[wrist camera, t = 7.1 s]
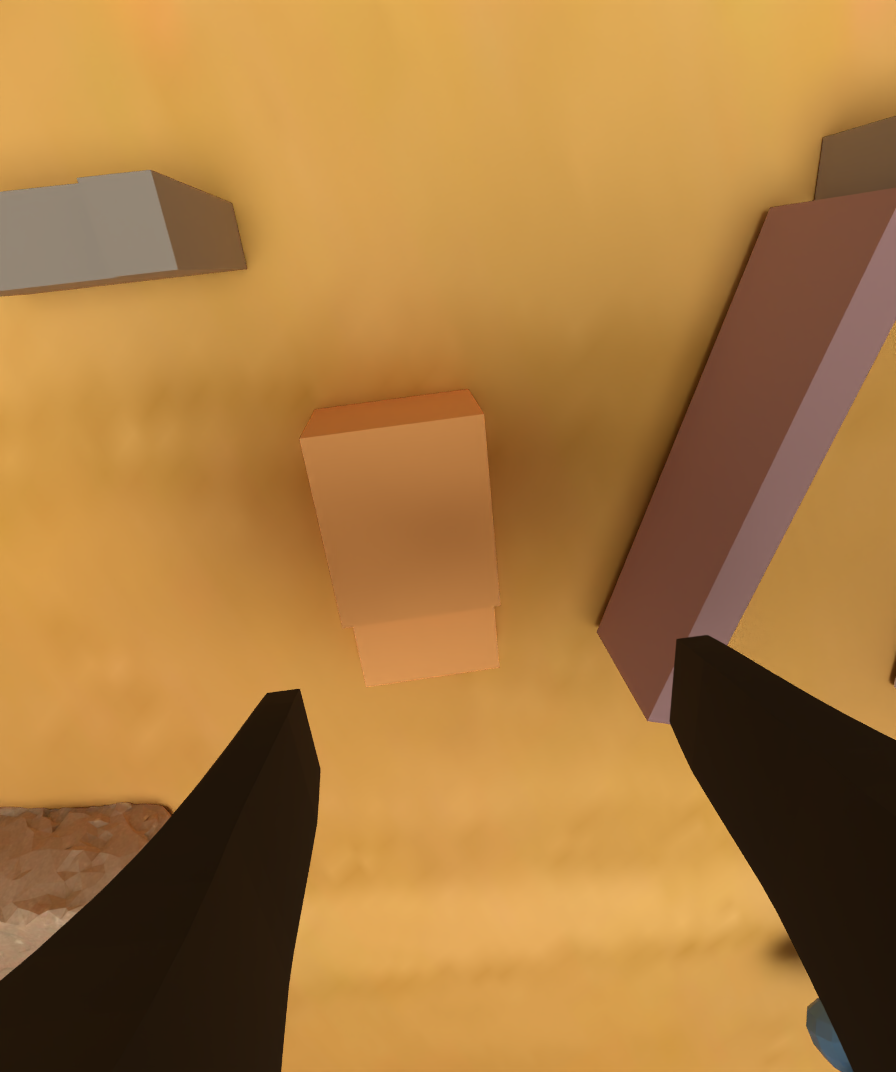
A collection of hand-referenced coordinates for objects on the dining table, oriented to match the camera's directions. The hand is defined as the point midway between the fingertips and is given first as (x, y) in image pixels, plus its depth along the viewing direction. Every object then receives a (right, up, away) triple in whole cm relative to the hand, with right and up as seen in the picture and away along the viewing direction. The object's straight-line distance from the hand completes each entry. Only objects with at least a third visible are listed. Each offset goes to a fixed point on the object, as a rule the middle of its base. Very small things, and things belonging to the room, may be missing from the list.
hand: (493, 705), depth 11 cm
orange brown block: (-2, +3, +8) cm, 9 cm away
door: (+7, +6, +7) cm, 12 cm away
